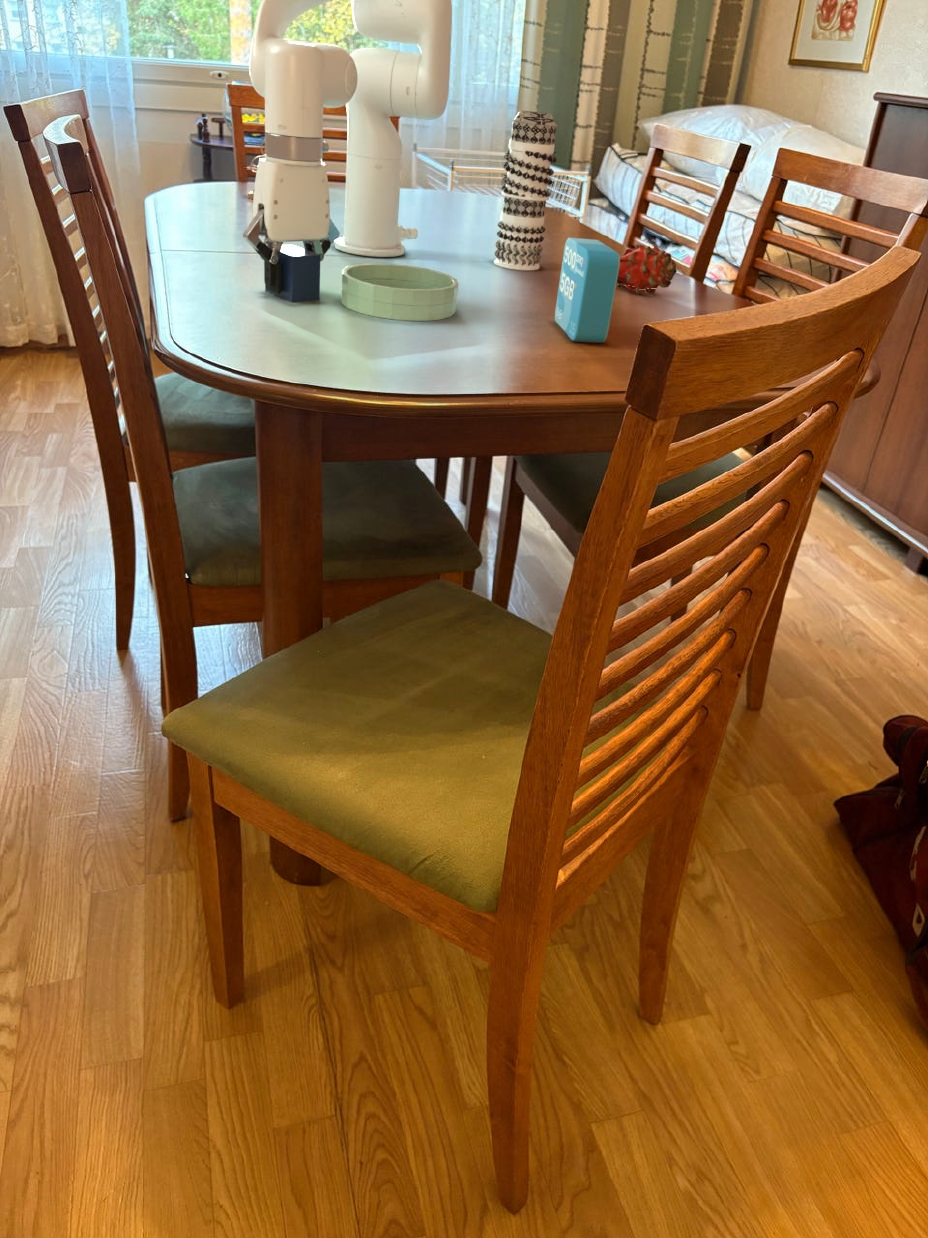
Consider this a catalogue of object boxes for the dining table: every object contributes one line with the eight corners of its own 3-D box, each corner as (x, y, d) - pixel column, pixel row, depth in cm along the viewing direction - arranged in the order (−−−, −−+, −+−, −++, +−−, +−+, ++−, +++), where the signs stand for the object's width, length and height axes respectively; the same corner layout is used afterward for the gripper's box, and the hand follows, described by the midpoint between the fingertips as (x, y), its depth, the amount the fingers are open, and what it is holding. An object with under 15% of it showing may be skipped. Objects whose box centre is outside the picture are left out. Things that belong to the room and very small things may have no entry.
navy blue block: (292, 291, 141) (292, 244, 137) (319, 302, 136) (320, 254, 133) (265, 293, 138) (264, 245, 134) (292, 304, 134) (292, 256, 130)
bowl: (406, 291, 148) (408, 261, 146) (478, 317, 138) (481, 285, 136) (318, 298, 138) (319, 266, 136) (388, 328, 128) (390, 293, 126)
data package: (553, 321, 141) (565, 235, 135) (582, 323, 142) (596, 237, 136) (574, 344, 131) (589, 252, 125) (606, 346, 132) (622, 254, 126)
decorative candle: (548, 266, 178) (570, 115, 165) (530, 273, 171) (551, 115, 158) (503, 257, 181) (521, 108, 168) (484, 263, 174) (501, 108, 161)
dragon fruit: (675, 306, 166) (605, 308, 168) (674, 269, 170) (605, 270, 171) (680, 270, 159) (607, 272, 160) (679, 232, 162) (607, 234, 163)
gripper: (330, 147, 135) (326, 280, 144) (221, 143, 124) (225, 287, 134) (362, 155, 130) (356, 292, 140) (252, 152, 120) (253, 300, 129)
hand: (292, 288), depth 136 cm, fingers open, 5 cm apart
